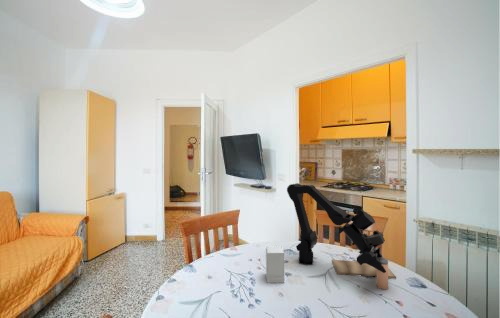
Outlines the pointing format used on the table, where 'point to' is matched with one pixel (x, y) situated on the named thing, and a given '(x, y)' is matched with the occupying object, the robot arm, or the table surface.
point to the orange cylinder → (382, 274)
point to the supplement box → (275, 264)
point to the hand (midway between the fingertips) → (386, 270)
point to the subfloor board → (357, 268)
